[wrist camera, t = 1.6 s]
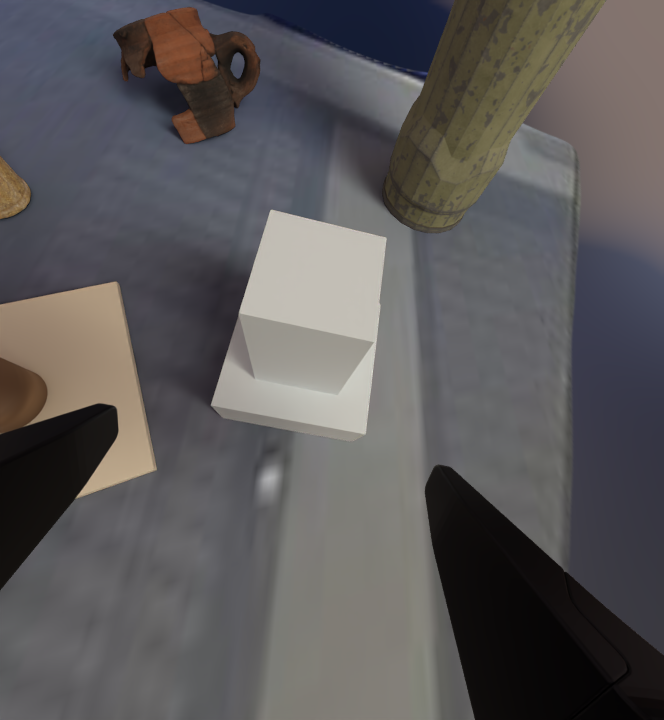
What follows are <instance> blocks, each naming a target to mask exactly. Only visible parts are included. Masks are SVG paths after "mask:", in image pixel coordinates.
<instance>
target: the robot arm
mask: <svg viewBox="0 0 664 720" xmlns="http://www.w3.org/2000/svg"><path fill="white" fill-rule="evenodd" d="M118 432H119V428H118V412H117V408H116V407H115V406H113V405H108V404H103V403H97V404H94V405H91V406H88V407H84V408H81V409H78V410H75V411H72V412H69V413H65V414H62V415H59V416H56V417H53V418H50V419H46V420H43V421H40V422H37V423H34V424H31V425H27V426H24V427H21V428H18V429H15V430H12V431H8V432H5V433H2V434H0V590H1V589H2V588H3V586H4V585H5V584H6V583H7V581H8V580H9V579H10V578H11V577H12V575H13V574H14V573H15V572H16V570H17V569H18V568H19V567H20V566H21V564H22V563H23V562H24V561H25V559H26V558H27V557H28V556H29V555H30V553H31V552H32V551H33V550H34V548H35V547H36V546H37V545H38V544H39V542H40V541H41V540H42V539H43V537H44V536H45V535H46V534H47V533H48V531H49V530H50V529H51V528H52V526H53V525H54V524H55V523H56V522H57V520H58V519H59V518H60V517H61V515H62V514H63V513H64V512H65V511H66V509H67V508H68V507H69V506H70V504H71V503H72V502H73V501H74V500H75V498H76V497H77V496H78V494H79V493H80V492H81V491H82V489H83V488H84V486H85V485H86V484H87V482H88V481H89V479H90V478H91V476H92V475H93V473H94V472H95V470H96V469H97V467H98V466H99V464H100V463H101V461H102V460H103V458H104V457H105V455H106V454H107V452H108V451H109V449H110V448H111V446H112V445H113V443H114V442H115V440H116V438H117V436H118ZM425 497H426V504H427V511H428V519H429V526H430V533H431V539H432V545H433V550H434V554H435V559H436V563H437V567H438V571H439V575H440V579H441V583H442V587H443V591H444V595H445V599H446V603H447V608H448V612H449V616H450V620H451V624H452V628H453V632H454V636H455V640H456V644H457V648H458V652H459V657H460V661H461V665H462V669H463V673H464V677H465V681H466V685H467V689H468V693H469V697H470V701H471V706H472V710H473V714H474V718H475V720H664V655H663V654H661V653H660V652H659V651H658V650H656V649H655V648H654V647H653V646H652V645H650V644H649V643H648V642H647V641H646V640H644V639H643V638H642V637H641V636H640V635H638V634H637V633H636V632H635V631H633V630H632V629H631V628H630V627H629V626H628V625H626V624H625V623H624V622H622V620H621V619H619V618H618V617H617V616H616V615H615V614H613V613H612V612H611V611H610V610H609V609H607V608H606V607H605V606H604V605H603V604H602V603H601V602H599V601H598V600H597V599H596V598H595V597H594V596H593V595H592V594H590V593H589V592H588V591H587V590H586V589H585V588H584V587H582V586H581V585H580V584H579V583H578V582H577V581H576V580H575V579H574V578H573V577H572V576H570V575H569V574H568V573H567V572H564V570H563V568H562V567H560V566H559V565H558V564H557V563H556V562H555V561H554V560H553V559H552V558H550V557H549V556H548V555H547V554H546V553H545V552H544V551H543V550H542V549H541V548H539V547H538V546H537V545H536V544H535V543H534V542H533V541H532V540H531V539H529V538H528V537H527V536H526V535H525V534H524V533H523V532H522V531H521V530H520V529H518V528H517V527H516V526H515V525H514V524H513V523H512V522H511V521H510V520H508V519H507V518H506V517H505V516H504V515H503V514H502V513H501V512H500V511H499V510H497V509H496V508H495V507H494V506H493V505H492V504H491V503H490V502H489V501H487V500H486V499H485V498H484V497H483V496H482V495H481V494H480V493H479V492H478V491H476V490H475V489H474V488H473V487H472V486H471V485H470V484H469V483H468V482H466V481H465V480H464V479H463V478H462V477H461V476H460V475H459V474H458V473H457V472H455V471H454V470H453V469H452V468H451V467H449V466H443V465H436V466H435V467H434V468H433V470H432V472H431V475H430V477H429V479H428V481H427V483H426V486H425Z"/></svg>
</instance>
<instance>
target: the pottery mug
mask: <svg viewBox="0 0 664 720" xmlns="http://www.w3.org/2000/svg"><path fill="white" fill-rule="evenodd" d="M113 36H114V38H115V39H116V41H117V42H118V44H119V46H120V48H121V50H122V52H121V55H122V58H121V69H122V74H123V79H124V81H128V71H129V70H131V73H132V74H133V75H134V76H136V77H139V78H144V77H145V68H148V67H151V66H157V68H158V70H159V71H160V73H161V74H162V75H163V77H164V78H165V79H167V80H168V81H170V82H173V83H177V86H178V88H179V90H180V91H181V93H182V94H183V96H184V98H185V100H186V101H187V103H188V105H189V109H188V110H186V111H185V112H183V113H181V114H178V115H174V116H173V117H172V122H173V124H174V126H175V128H176V129H177V130H178V132H179V134H180V136H181V138H182V140H183V142H184V143H185V144H189V143H195V142H199V141H201V140H204V139H207V138H211V137H213V136H219V135H221V134H224V133H226V132H228V131H230V130H232V129H233V128H234V127H235V120H234V107H235V108H238V107H239V104H240V101H241V100H242V99H243V97H245V96H246V95H248V94H249V93H250V92H251V91H252V90H253V89H254V87H255V85H256V83H257V80H258V77H259V74H260V58H259V57H258V55H257V54H256V52H255V46H254V44H253V43H252V41H251V40H250V39H249V38H248V37H247V36H246V35H244V34H242V33H240V32H233V31H231V32H227V33H224V34H221V35H214V34H211V33H209V32H208V30H207V29H204V28H203V27H202V25H201V22H200V19H199V16H198V12H197V10H196V9H195V8H192V7H187V8H180V9H175V10H170V11H167V12H166V13H160V14H157V15H154V16H151V17H148V18H146V19H141V20H138V21H135V22H133V23H130V24H128V25H126V26H123V27H122V28H120V29H118V30H117V31H116V32H114V34H113ZM237 52H239V53H240V54H241V55H242V56H243V57H244V61H245V66H244V69H243V73H242V75H241V78H239V79H237V78H236V77H235V76H234V75H233V73H232V71H231V70H230V67H231V62H232V59H233V56H234V54H235V53H237ZM214 55H216V57H217V60H218V69H217V67H216V66H215V63H214V61H213V60H212V58H211V57H212V56H214Z"/></svg>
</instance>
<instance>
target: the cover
mask: <svg viewBox="0 0 664 720" xmlns="http://www.w3.org/2000/svg"><path fill="white" fill-rule="evenodd" d="M386 239H387V238H385V237H381V236H377V235H373V234H369V233H364V232H360V231H356V230H352V229H348V228H344V227H340V226H336V225H332V224H328V223H324V222H319V221H315V220H311V219H307V218H303V217H299V216H295V215H291V214H287V213H283V212H279V211H275V210H271V211H270V214H269V217H268V220H267V224H266V227H265V230H264V233H263V237H262V240H261V243H260V246H259V250H258V253H257V256H256V259H255V262H254V266H253V269H252V272H251V275H250V279H249V282H248V285H247V288H246V291H245V295H244V298H243V301H242V304H241V308H240V311H239V316H238V319H237V322H236V326H235V329H234V332H233V335H232V339H231V342H230V345H229V348H228V352H227V355H226V358H225V361H224V364H223V368H222V371H221V374H220V377H219V381H218V384H217V387H216V390H215V394H214V397H213V400H212V403H211V406H212V407H213V408H214V409H215V410H216V411H217V413H218V414H219V415H220V416H221V417H222V418H225V419H230V420H236V421H241V422H247V423H252V424H257V425H263V426H268V427H274V428H279V429H285V430H290V431H295V432H301V433H306V434H312V435H317V436H322V437H328V438H333V439H339V440H344V441H350V442H352V441H354V440H356V439H358V438H360V437H361V436H363V435H365V434H366V426H367V417H368V409H369V400H370V391H371V383H372V374H373V366H374V357H375V348H376V340H377V331H378V322H379V314H380V305H381V304H379V298H380V290H381V281H382V273H383V264H384V256H385V247H386Z"/></svg>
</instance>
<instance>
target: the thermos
mask: <svg viewBox="0 0 664 720" xmlns="http://www.w3.org/2000/svg"><path fill="white" fill-rule="evenodd" d="M605 1H606V0H455V1H454V4H453V7H452V9H451V12H450V15H449V18H448V21H447V23H446V26H445V28H444V31H443V34H442V37H441V40H440V42H439V45H438V48H437V50H436V53H435V56H434V59H433V61H432V64H431V67H430V69H429V72H428V75H427V78H426V80H425V83H424V86H423V88H422V91H421V94H420V96H419V97H418V98H417V100H416V101H415V102H414V104H413V105H412V107H411V109H410V111H409V113H408V115H407V117H406V119H405V121H404V123H403V125H402V127H401V130H400V133H399V136H398V139H397V142H396V144H395V147H394V150H393V153H392V156H391V160H390V166H389V172H388V175H387V177H386V178H385V181H384V184H383V190H382V194H383V199H384V203H385V205H386V206H387V208H388V209H389V211H390V213H391V214H392V215H393V216H394V217H396V218H397V219H398V220H399V221H400V222H401V223H403V224H405V225H407V226H408V227H410V228H412V229H414V230H418V231H422V232H425V233H441V232H445V231H448V230H451V229H452V228H453V227H455V226H456V225H457V224H459V222H460V221H461V219H462V217H463V215H464V214H465V212H466V211H467V209H468V208H469V207H471V206H472V205H473V204H474V203H475V202H476V201H477V200H478V198H479V197H480V195H481V194H482V192H483V191H484V190H485V188H486V187H487V185H488V184H489V183H490V181H491V180H492V178H493V177H494V176H495V174H496V173H497V171H498V170H499V168H500V167H501V166H502V164H503V162H504V159H505V156H506V153H507V150H508V146H509V143H510V141H511V139H512V138H513V136H514V135H515V133H516V132H517V130H518V129H519V127H520V126H521V124H522V123H523V121H524V120H525V119H526V117H527V115H528V114H529V112H530V111H531V110H532V108H533V107H534V105H535V104H536V102H537V101H538V99H539V98H540V97H541V95H542V93H543V92H544V91H545V89H546V88H547V86H548V85H549V83H550V82H551V80H552V79H553V77H554V76H555V75H556V73H557V72H558V70H559V69H560V67H561V66H562V64H563V63H564V61H565V60H566V58H567V57H568V55H569V54H570V53H571V51H572V50H573V48H574V47H575V45H576V44H577V42H578V41H579V39H580V38H581V36H582V35H583V34H584V32H585V30H586V29H587V28H588V26H589V25H590V23H591V22H592V20H593V19H594V17H595V16H596V15H597V13H598V12H599V10H600V8H601V7H602V6H603V4H604V3H605Z"/></svg>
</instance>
